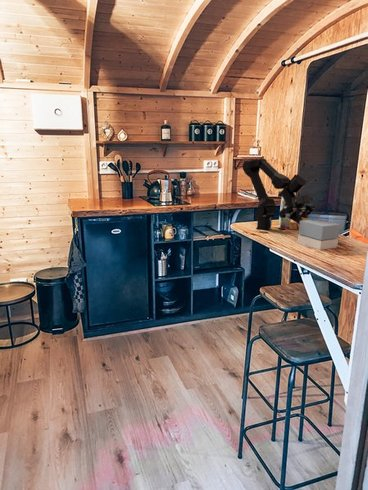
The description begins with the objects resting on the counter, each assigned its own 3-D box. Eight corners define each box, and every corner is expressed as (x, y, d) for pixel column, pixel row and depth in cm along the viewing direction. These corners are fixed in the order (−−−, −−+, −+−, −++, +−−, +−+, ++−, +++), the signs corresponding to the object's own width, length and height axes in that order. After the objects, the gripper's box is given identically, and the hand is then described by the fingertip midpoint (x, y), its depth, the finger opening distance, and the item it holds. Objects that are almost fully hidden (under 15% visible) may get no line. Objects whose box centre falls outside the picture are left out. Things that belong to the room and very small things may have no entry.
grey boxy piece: (290, 231, 179) (291, 218, 178) (307, 229, 185) (308, 216, 183) (321, 240, 164) (322, 226, 163) (338, 237, 170) (340, 223, 168)
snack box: (290, 229, 204) (293, 201, 200) (279, 228, 205) (282, 200, 201) (288, 221, 224) (291, 195, 220) (278, 221, 225) (280, 195, 221)
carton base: (297, 242, 176) (298, 234, 175) (314, 240, 181) (315, 232, 180) (319, 249, 165) (321, 240, 164) (337, 247, 171) (338, 238, 170)
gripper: (286, 189, 174) (301, 217, 167) (315, 187, 183) (331, 214, 176) (272, 203, 182) (286, 231, 176) (300, 201, 191) (315, 228, 185)
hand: (305, 226), depth 178 cm, fingers closed on grey boxy piece, 2 cm apart
